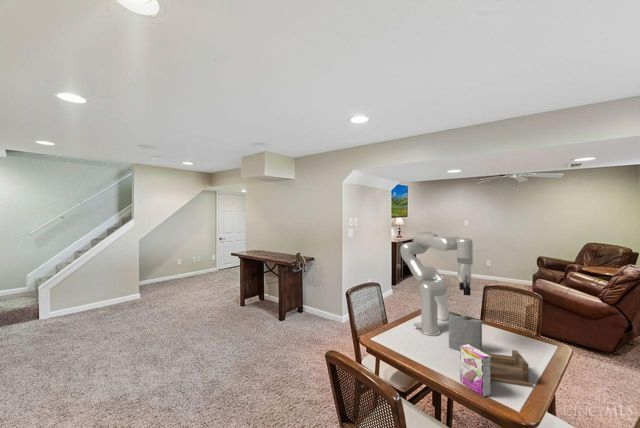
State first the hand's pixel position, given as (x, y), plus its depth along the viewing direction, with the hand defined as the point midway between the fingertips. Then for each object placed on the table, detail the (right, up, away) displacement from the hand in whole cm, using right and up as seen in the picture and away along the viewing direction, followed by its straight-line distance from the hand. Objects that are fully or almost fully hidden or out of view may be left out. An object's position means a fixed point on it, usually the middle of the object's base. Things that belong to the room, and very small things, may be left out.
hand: (464, 292), depth 145 cm
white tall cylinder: (+7, -32, +45) cm, 56 cm away
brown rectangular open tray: (+4, -32, -20) cm, 38 cm away
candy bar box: (-12, -33, -31) cm, 46 cm away
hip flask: (0, -32, 0) cm, 32 cm away
